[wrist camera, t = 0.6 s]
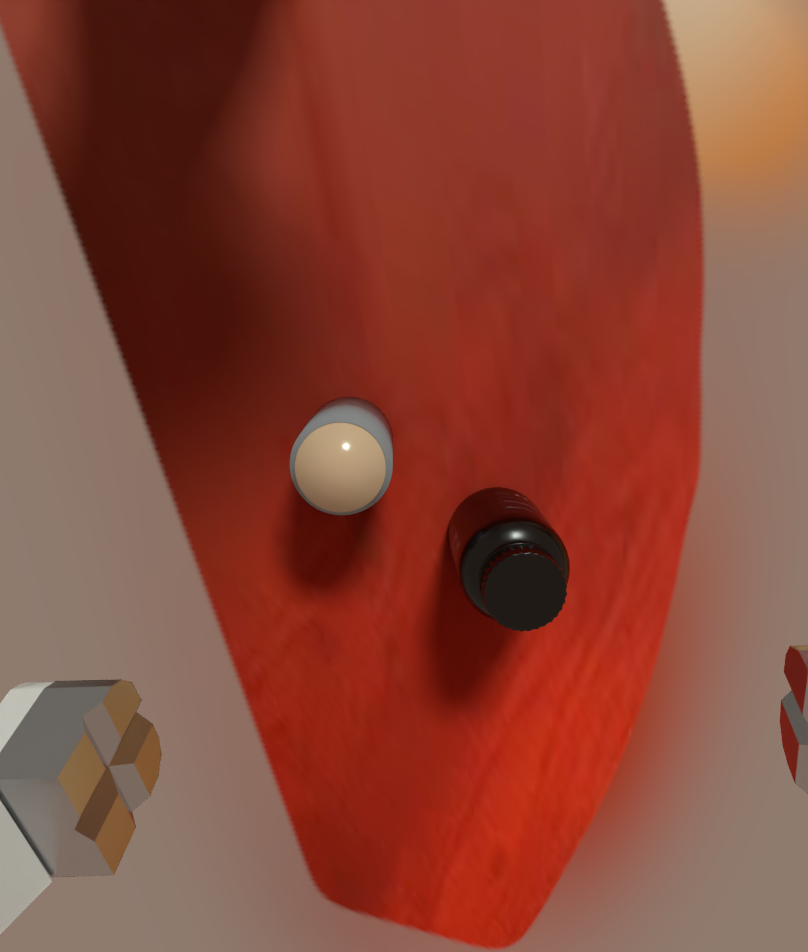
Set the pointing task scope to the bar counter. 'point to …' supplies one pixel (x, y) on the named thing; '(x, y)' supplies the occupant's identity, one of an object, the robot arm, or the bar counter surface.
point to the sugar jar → (343, 457)
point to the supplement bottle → (508, 559)
